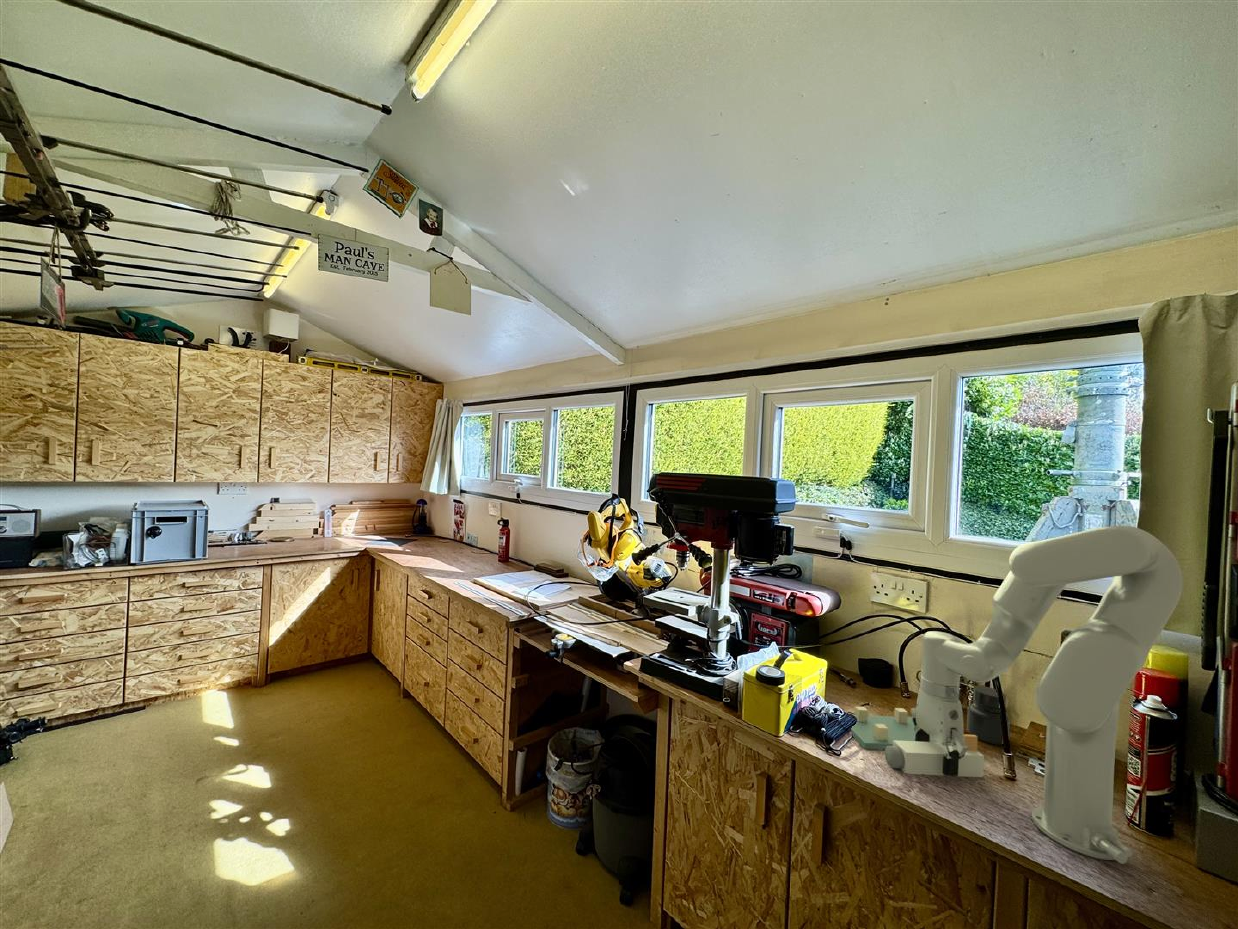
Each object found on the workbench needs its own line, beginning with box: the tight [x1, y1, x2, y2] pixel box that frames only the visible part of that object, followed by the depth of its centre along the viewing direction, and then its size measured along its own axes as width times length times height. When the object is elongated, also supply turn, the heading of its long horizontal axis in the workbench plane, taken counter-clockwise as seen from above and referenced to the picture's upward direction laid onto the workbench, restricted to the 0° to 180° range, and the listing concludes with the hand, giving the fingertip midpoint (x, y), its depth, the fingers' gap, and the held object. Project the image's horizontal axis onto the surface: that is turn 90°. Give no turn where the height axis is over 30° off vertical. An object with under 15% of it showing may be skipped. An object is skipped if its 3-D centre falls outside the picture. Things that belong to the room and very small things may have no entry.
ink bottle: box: [966, 685, 1011, 746], centre depth 128 cm, size 10×9×12 cm
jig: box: [851, 706, 938, 751], centre depth 125 cm, size 14×22×4 cm, turn 93°
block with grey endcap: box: [884, 733, 985, 778], centre depth 111 cm, size 5×20×8 cm, turn 92°
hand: (935, 762), depth 112 cm, fingers open, 8 cm apart
